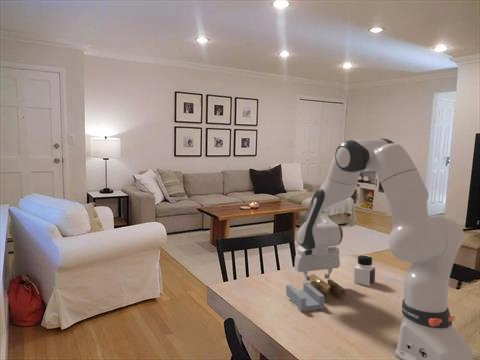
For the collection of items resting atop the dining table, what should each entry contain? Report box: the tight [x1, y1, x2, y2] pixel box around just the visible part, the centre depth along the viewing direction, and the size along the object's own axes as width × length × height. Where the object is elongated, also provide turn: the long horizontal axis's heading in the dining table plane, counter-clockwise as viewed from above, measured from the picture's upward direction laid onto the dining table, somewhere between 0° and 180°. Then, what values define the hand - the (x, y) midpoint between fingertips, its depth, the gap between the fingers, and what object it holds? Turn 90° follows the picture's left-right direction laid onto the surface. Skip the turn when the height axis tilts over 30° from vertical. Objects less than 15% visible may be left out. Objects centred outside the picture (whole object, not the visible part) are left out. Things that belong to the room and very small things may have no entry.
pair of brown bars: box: [311, 278, 347, 303], centre depth 143 cm, size 12×9×4 cm
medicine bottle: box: [353, 254, 376, 287], centre depth 156 cm, size 7×7×12 cm
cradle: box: [285, 282, 325, 312], centre depth 136 cm, size 14×10×5 cm
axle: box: [308, 273, 333, 295], centre depth 150 cm, size 14×4×4 cm, turn 15°
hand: (317, 279), depth 152 cm, fingers open, 8 cm apart
